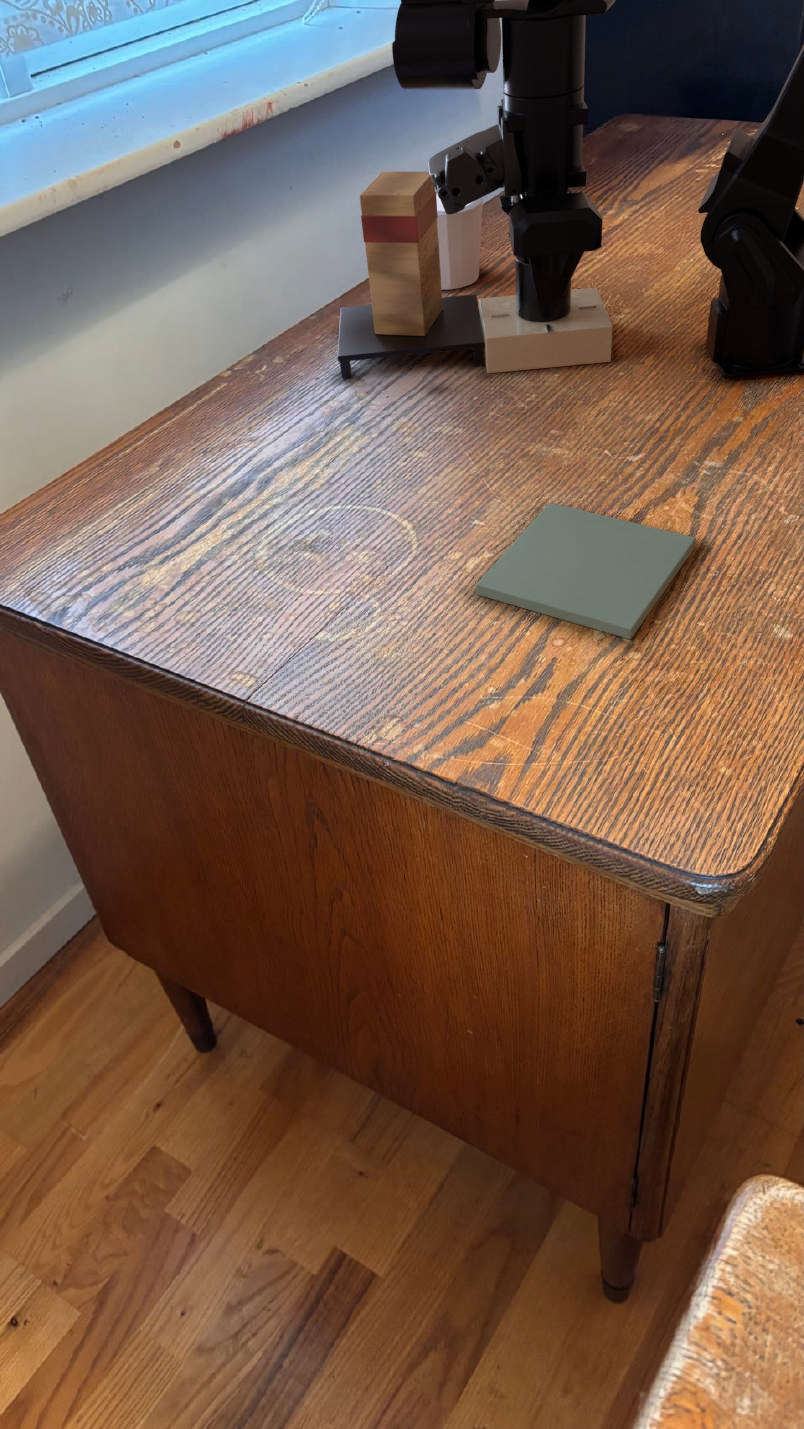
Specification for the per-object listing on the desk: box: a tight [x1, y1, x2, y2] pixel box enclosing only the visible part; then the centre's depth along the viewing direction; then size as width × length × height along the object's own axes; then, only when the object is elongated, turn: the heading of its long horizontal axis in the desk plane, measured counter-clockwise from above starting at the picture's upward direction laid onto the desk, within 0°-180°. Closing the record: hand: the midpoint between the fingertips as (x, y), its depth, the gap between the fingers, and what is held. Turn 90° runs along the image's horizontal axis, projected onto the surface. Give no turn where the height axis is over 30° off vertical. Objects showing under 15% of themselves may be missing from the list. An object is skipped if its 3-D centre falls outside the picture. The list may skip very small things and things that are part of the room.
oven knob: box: [514, 256, 572, 322], centre depth 84 cm, size 4×4×5 cm
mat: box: [475, 502, 697, 640], centre depth 64 cm, size 10×10×1 cm
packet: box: [359, 171, 443, 336], centre depth 85 cm, size 4×6×11 cm
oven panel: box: [478, 286, 614, 374], centre depth 87 cm, size 10×9×3 cm
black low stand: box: [337, 294, 485, 379], centre depth 89 cm, size 12×10×2 cm
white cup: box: [435, 190, 484, 290], centre depth 98 cm, size 7×7×7 cm
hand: (543, 305), depth 85 cm, fingers closed on oven knob, 4 cm apart
